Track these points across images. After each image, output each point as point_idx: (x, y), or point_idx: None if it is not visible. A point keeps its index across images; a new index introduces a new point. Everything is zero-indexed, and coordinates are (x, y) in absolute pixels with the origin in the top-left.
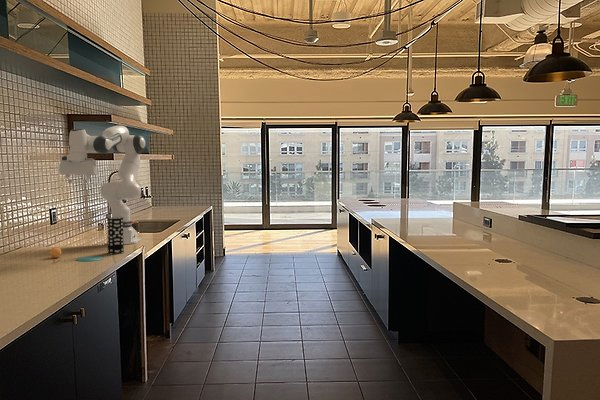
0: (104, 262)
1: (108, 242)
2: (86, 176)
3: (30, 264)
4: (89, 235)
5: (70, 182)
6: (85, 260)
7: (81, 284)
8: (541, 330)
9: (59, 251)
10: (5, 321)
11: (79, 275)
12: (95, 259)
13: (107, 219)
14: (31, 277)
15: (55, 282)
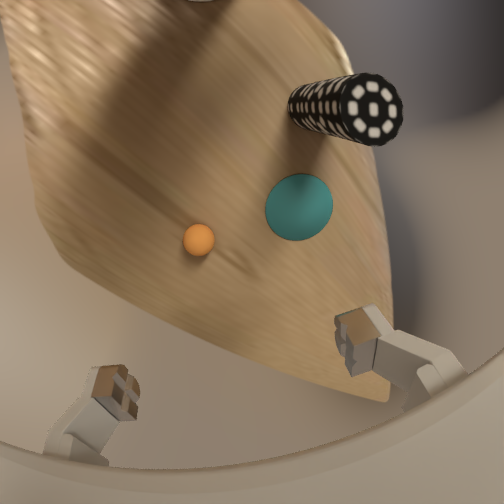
0: (357, 225)
1: (314, 130)
2: (408, 406)
3: (213, 305)
4: None
5: (137, 387)
6: (305, 230)
7: None
8: None
9: (213, 241)
10: (376, 400)
11: None
12: (321, 211)
13: (348, 135)
14: (303, 351)
15: None
